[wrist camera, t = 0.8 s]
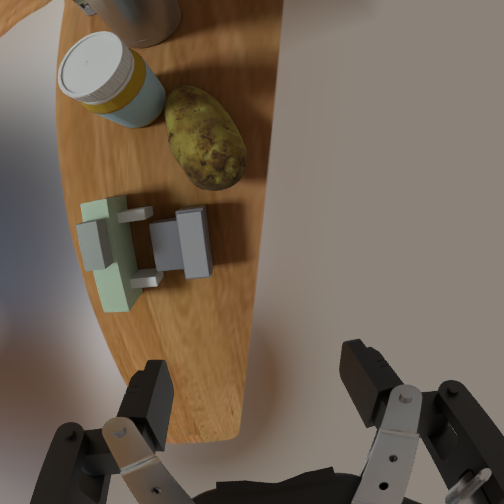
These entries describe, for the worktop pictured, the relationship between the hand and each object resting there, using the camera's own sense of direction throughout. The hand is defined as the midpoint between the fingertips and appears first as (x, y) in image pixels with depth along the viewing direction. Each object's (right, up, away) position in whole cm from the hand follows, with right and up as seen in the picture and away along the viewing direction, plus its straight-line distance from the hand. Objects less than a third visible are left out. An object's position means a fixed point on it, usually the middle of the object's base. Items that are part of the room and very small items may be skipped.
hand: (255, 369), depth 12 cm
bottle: (-14, +24, +18) cm, 33 cm away
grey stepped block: (-9, +7, +22) cm, 25 cm away
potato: (-6, +19, +20) cm, 28 cm away
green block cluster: (-15, +6, +22) cm, 27 cm away
